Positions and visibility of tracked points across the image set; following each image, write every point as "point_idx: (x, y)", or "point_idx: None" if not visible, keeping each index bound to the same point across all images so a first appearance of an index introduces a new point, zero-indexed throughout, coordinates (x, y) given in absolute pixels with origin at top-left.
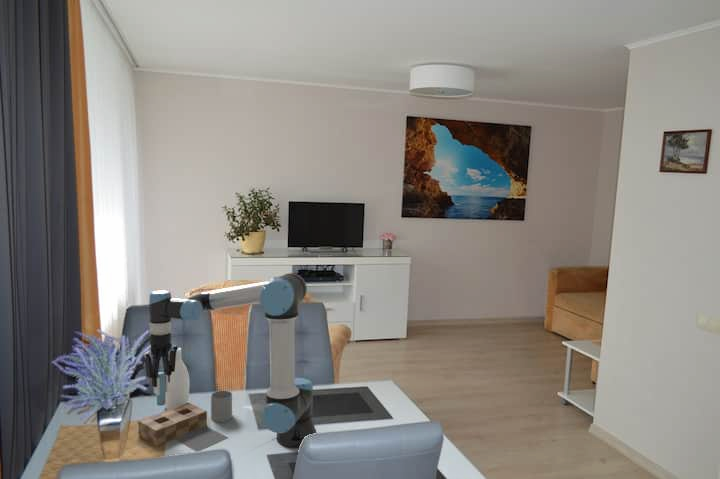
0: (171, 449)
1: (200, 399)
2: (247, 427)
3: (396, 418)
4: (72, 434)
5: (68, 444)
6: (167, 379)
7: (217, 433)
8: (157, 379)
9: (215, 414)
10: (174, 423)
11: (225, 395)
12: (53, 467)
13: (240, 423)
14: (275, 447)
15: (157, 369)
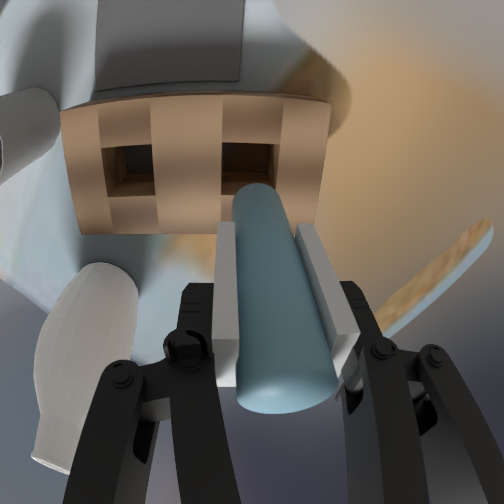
0: (292, 35)
1: (42, 276)
2: (22, 13)
3: None
4: None
5: (408, 289)
6: (221, 302)
7: (103, 16)
8: (354, 328)
9: (41, 112)
10: (232, 95)
11: None
12: (479, 225)
13: (17, 50)
14: None
15: (395, 440)
